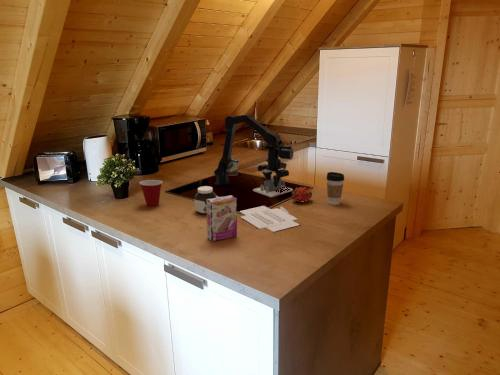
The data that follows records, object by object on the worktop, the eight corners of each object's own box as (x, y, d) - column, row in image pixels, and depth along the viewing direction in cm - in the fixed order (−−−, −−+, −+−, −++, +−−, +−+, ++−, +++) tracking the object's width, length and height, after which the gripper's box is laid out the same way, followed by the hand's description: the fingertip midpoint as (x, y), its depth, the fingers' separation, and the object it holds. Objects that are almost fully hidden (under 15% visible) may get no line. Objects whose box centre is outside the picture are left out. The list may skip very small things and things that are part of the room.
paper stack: (267, 235, 161) (267, 227, 160) (233, 216, 184) (232, 209, 183) (306, 225, 171) (306, 216, 170) (269, 208, 194) (269, 200, 193)
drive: (269, 191, 210) (270, 182, 208) (263, 189, 213) (264, 180, 211) (281, 188, 215) (281, 179, 214) (275, 186, 219) (275, 177, 217)
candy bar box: (212, 242, 153) (210, 202, 148) (207, 238, 158) (205, 199, 153) (237, 236, 158) (237, 198, 154) (232, 232, 163) (231, 194, 158)
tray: (270, 197, 204) (271, 189, 203) (253, 190, 214) (253, 183, 213) (292, 190, 214) (292, 183, 213) (274, 185, 224) (274, 178, 223)
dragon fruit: (289, 206, 196) (309, 205, 201) (298, 200, 189) (318, 200, 194) (286, 190, 198) (305, 190, 204) (295, 184, 191) (315, 184, 197)
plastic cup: (168, 202, 198) (166, 179, 194) (157, 209, 188) (155, 185, 185) (149, 200, 201) (147, 177, 198) (137, 207, 191) (134, 183, 188)
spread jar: (193, 214, 182) (192, 190, 178) (199, 206, 193) (198, 183, 189) (219, 215, 180) (218, 191, 177) (224, 207, 191) (223, 184, 187)
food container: (240, 173, 249) (240, 157, 246) (239, 175, 244) (239, 159, 240) (221, 172, 251) (221, 157, 248) (219, 175, 245) (219, 159, 242)
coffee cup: (326, 199, 200) (327, 170, 196) (343, 201, 198) (345, 172, 193) (324, 205, 193) (325, 175, 188) (341, 206, 190) (343, 176, 186)
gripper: (296, 158, 207) (295, 186, 212) (272, 152, 221) (271, 179, 225) (281, 161, 200) (280, 191, 205) (257, 155, 214) (257, 183, 218)
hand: (272, 185), depth 214 cm, fingers open, 5 cm apart
